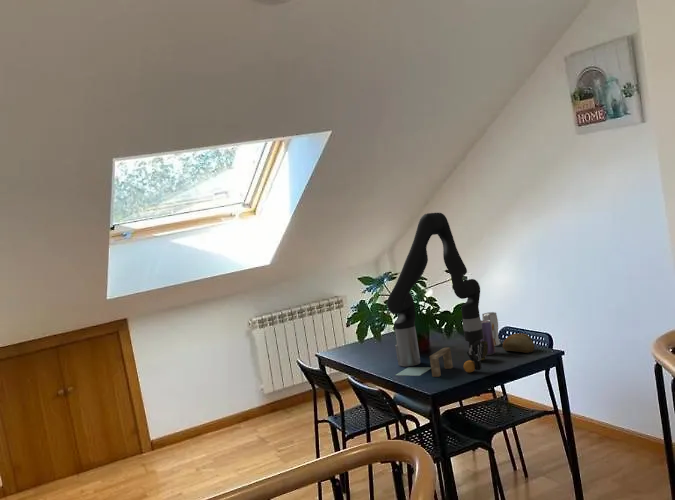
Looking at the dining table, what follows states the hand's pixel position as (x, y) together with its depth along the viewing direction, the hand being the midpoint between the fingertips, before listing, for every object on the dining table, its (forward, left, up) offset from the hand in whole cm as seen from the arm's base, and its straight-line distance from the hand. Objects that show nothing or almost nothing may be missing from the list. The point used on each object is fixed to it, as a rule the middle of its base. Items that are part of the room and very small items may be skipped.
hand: (478, 369), depth 299 cm
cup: (-6, +18, -1) cm, 19 cm away
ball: (-4, 0, +2) cm, 4 cm away
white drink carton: (-11, +45, -1) cm, 46 cm away
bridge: (-16, 0, -1) cm, 16 cm away
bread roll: (+6, +33, -1) cm, 33 cm away
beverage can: (-7, +29, -1) cm, 30 cm away
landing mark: (-30, 0, -1) cm, 30 cm away
